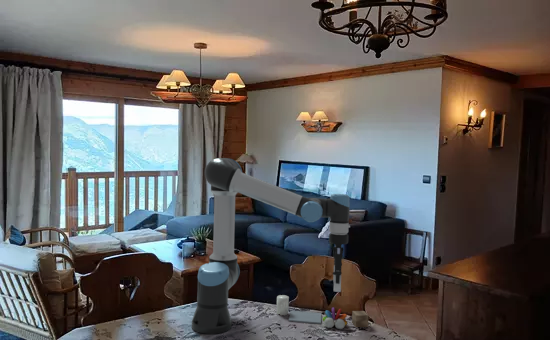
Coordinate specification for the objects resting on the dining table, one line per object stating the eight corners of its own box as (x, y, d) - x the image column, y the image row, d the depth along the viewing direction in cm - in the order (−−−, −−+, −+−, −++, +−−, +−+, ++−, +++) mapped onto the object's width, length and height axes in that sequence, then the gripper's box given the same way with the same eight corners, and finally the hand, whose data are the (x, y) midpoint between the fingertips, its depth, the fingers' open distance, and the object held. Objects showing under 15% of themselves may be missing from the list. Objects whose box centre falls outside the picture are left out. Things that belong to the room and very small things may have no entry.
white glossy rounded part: (275, 315, 183) (276, 298, 183) (277, 310, 188) (277, 294, 188) (287, 315, 183) (288, 299, 182) (288, 311, 188) (289, 295, 187)
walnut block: (355, 327, 173) (356, 315, 172) (351, 323, 178) (352, 311, 177) (367, 327, 173) (368, 315, 173) (363, 323, 178) (364, 310, 178)
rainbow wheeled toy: (346, 331, 169) (347, 312, 169) (321, 328, 171) (322, 310, 170) (347, 323, 177) (348, 305, 177) (323, 320, 179) (324, 303, 179)
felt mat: (288, 321, 176) (288, 319, 176) (291, 312, 187) (291, 310, 187) (320, 324, 175) (320, 322, 175) (321, 314, 186) (321, 313, 186)
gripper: (349, 239, 160) (347, 296, 160) (347, 228, 185) (345, 278, 185) (329, 237, 161) (327, 295, 161) (329, 227, 186) (327, 277, 186)
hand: (336, 286), depth 173 cm, fingers open, 13 cm apart
